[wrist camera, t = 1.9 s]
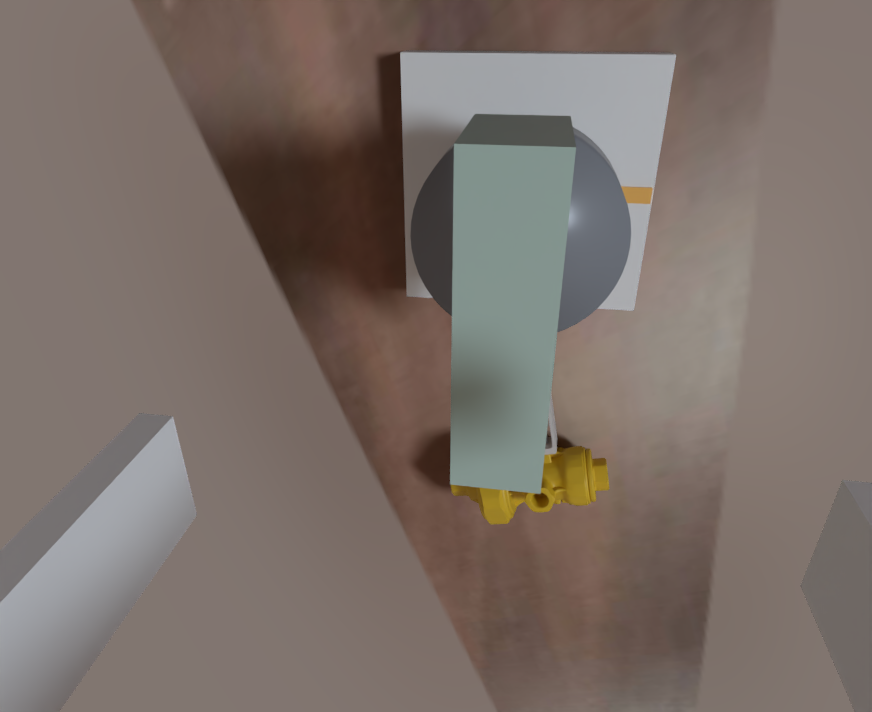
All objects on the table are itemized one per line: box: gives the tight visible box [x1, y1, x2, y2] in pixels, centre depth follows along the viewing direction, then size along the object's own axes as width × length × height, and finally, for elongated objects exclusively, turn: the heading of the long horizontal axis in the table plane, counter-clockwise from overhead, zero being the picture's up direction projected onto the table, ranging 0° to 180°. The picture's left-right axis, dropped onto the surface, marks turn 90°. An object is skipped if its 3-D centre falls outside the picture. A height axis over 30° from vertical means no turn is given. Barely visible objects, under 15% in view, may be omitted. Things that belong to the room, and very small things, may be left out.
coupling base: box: [400, 50, 676, 311], centre depth 32 cm, size 13×13×6 cm
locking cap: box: [410, 114, 631, 494], centre depth 24 cm, size 12×9×12 cm
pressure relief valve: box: [451, 395, 609, 524], centre depth 40 cm, size 6×12×10 cm
